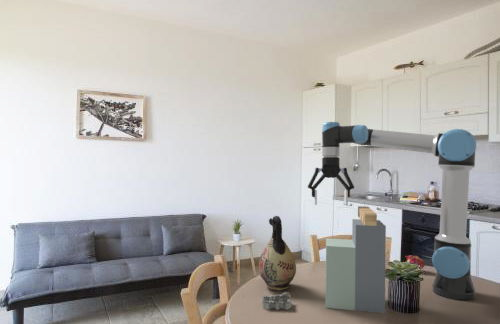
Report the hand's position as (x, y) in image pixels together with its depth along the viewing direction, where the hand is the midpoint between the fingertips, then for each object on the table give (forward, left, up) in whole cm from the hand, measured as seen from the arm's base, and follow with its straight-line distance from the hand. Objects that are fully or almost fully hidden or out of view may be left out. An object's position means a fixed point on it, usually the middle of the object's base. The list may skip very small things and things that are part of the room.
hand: (330, 204), depth 158 cm
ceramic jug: (+17, +20, -34) cm, 43 cm away
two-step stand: (-14, +22, -33) cm, 43 cm away
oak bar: (-18, +16, -3) cm, 24 cm away
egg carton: (+10, +38, -34) cm, 52 cm away
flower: (-33, -34, -34) cm, 58 cm away
